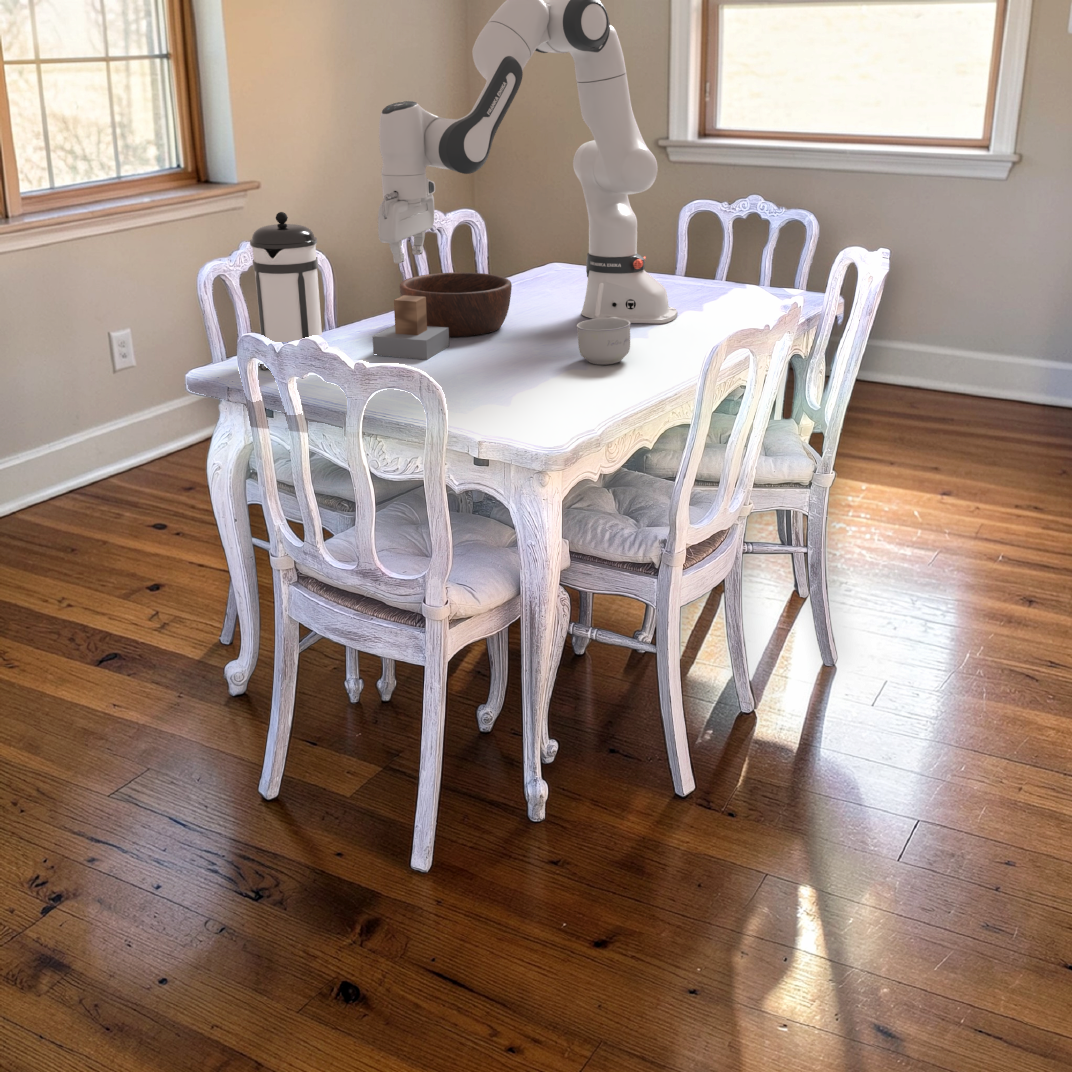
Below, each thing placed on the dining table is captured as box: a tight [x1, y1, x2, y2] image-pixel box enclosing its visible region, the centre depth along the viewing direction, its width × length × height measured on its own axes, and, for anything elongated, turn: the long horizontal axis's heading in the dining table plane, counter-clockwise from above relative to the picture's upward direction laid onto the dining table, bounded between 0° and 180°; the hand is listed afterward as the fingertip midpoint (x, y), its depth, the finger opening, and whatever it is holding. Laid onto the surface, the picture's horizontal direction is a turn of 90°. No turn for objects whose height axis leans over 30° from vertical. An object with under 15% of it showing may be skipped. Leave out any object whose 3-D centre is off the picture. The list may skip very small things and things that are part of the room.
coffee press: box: [249, 211, 323, 371], centre depth 240 cm, size 17×16×30 cm
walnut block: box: [393, 295, 427, 335], centre depth 252 cm, size 5×5×7 cm
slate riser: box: [372, 324, 450, 361], centre depth 254 cm, size 12×12×4 cm
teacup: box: [576, 317, 632, 366], centre depth 246 cm, size 14×11×8 cm
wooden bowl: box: [399, 271, 513, 338], centre depth 273 cm, size 25×25×10 cm
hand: (408, 258), depth 247 cm, fingers open, 8 cm apart
